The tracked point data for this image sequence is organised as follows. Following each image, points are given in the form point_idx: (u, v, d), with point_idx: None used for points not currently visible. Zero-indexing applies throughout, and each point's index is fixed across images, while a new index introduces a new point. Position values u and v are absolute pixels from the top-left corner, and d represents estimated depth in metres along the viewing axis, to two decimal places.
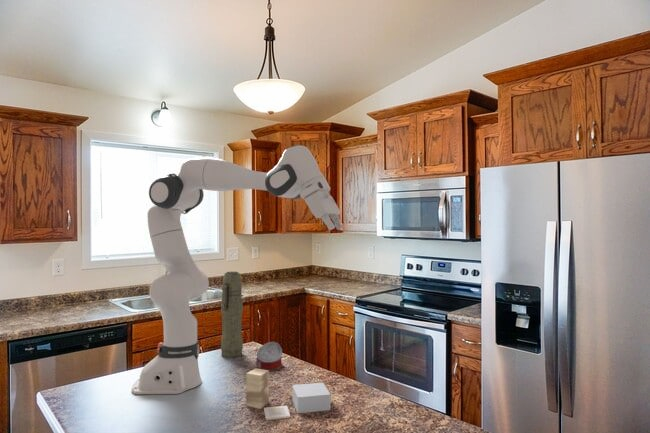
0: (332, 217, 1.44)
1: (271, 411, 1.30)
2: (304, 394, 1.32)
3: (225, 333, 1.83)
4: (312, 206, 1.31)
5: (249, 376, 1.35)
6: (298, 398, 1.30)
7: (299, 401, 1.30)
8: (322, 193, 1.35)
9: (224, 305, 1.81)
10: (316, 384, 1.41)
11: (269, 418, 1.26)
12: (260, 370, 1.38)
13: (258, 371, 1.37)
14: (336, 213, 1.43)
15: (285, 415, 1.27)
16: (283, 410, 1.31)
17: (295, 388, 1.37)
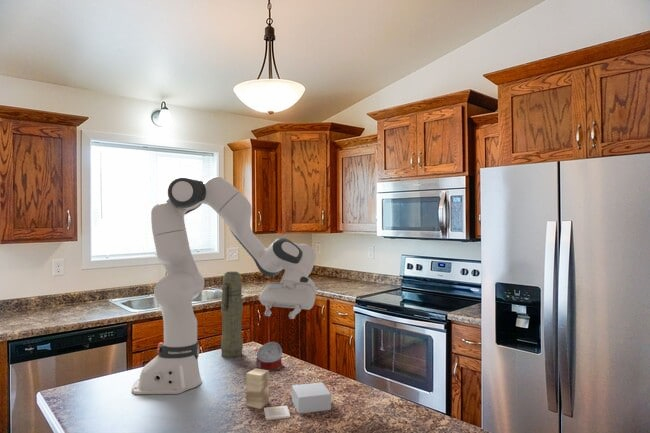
0: (270, 303, 1.53)
1: (271, 411, 1.30)
2: (305, 395, 1.32)
3: (225, 333, 1.83)
4: (311, 296, 1.48)
5: (249, 376, 1.35)
6: (299, 398, 1.30)
7: (300, 401, 1.30)
8: None
9: (224, 305, 1.81)
10: (315, 384, 1.41)
11: (269, 418, 1.26)
12: (260, 370, 1.38)
13: (258, 371, 1.37)
14: (276, 306, 1.54)
15: (285, 415, 1.27)
16: (283, 410, 1.31)
17: (295, 388, 1.37)
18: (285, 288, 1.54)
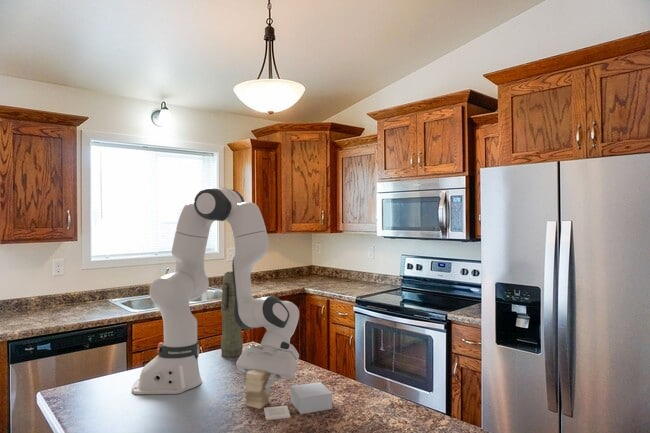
0: None
1: (271, 411, 1.30)
2: (306, 395, 1.32)
3: (225, 333, 1.83)
4: (292, 365, 1.36)
5: (249, 376, 1.35)
6: (301, 399, 1.30)
7: (302, 402, 1.30)
8: None
9: (224, 305, 1.81)
10: (314, 384, 1.41)
11: (269, 418, 1.26)
12: (260, 370, 1.38)
13: (258, 371, 1.37)
14: None
15: (285, 415, 1.27)
16: (283, 410, 1.31)
17: (295, 389, 1.36)
18: (264, 354, 1.42)
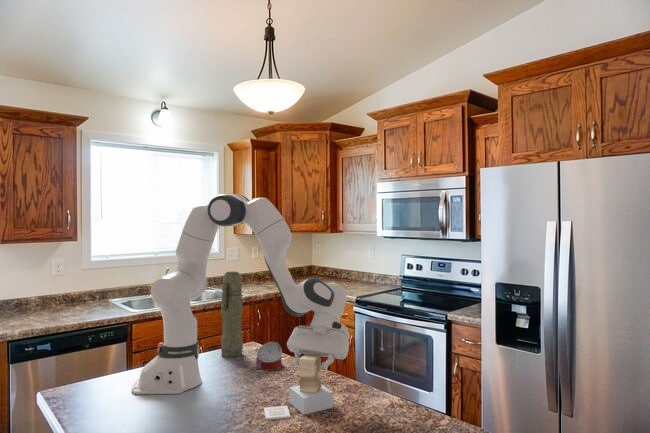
0: (299, 350, 1.40)
1: (271, 411, 1.30)
2: (309, 395, 1.32)
3: (225, 333, 1.83)
4: (345, 345, 1.36)
5: (302, 361, 1.35)
6: (304, 399, 1.30)
7: (305, 402, 1.30)
8: None
9: (224, 305, 1.81)
10: None
11: (269, 418, 1.26)
12: (311, 355, 1.38)
13: (310, 356, 1.37)
14: (305, 353, 1.41)
15: (285, 415, 1.27)
16: (283, 410, 1.31)
17: (295, 390, 1.36)
18: (316, 334, 1.42)
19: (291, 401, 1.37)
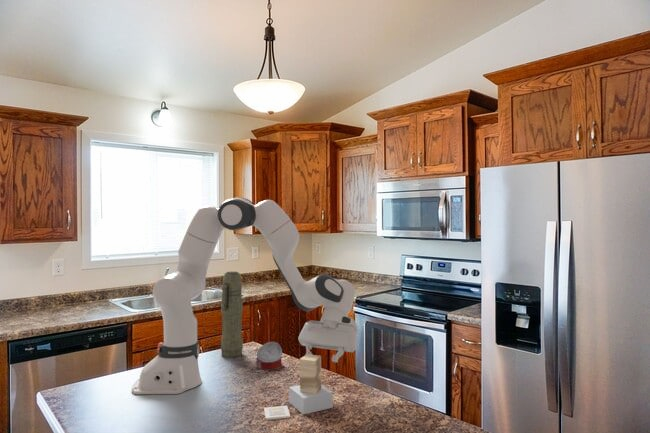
0: (310, 344, 1.47)
1: (271, 411, 1.30)
2: (308, 395, 1.32)
3: (225, 333, 1.83)
4: (355, 338, 1.43)
5: (303, 362, 1.34)
6: (304, 399, 1.30)
7: (305, 402, 1.30)
8: None
9: (224, 305, 1.81)
10: None
11: (269, 418, 1.26)
12: (311, 355, 1.38)
13: (310, 357, 1.36)
14: (316, 347, 1.48)
15: (285, 415, 1.27)
16: (283, 410, 1.31)
17: (294, 390, 1.36)
18: (326, 328, 1.48)
19: (291, 401, 1.37)
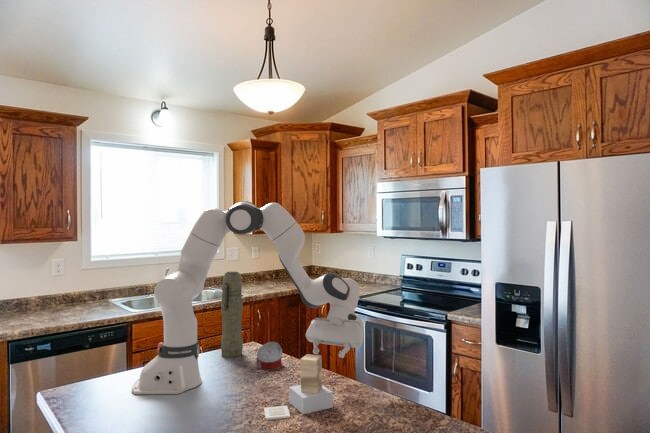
0: (317, 340, 1.52)
1: (271, 411, 1.30)
2: (308, 395, 1.32)
3: (225, 333, 1.83)
4: (360, 335, 1.48)
5: (303, 362, 1.34)
6: (303, 399, 1.30)
7: (304, 402, 1.30)
8: None
9: (224, 305, 1.81)
10: None
11: (269, 418, 1.26)
12: (312, 355, 1.38)
13: (311, 356, 1.36)
14: (323, 343, 1.53)
15: (285, 415, 1.27)
16: (283, 410, 1.31)
17: (294, 390, 1.36)
18: (332, 325, 1.53)
19: (291, 401, 1.37)
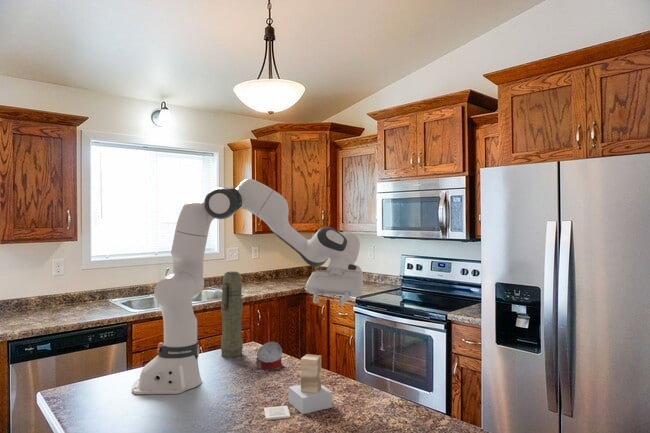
0: (317, 290, 1.52)
1: (271, 411, 1.30)
2: (307, 395, 1.32)
3: (225, 333, 1.83)
4: (360, 284, 1.48)
5: (304, 361, 1.34)
6: (303, 399, 1.30)
7: (304, 402, 1.30)
8: None
9: (224, 305, 1.81)
10: None
11: (269, 418, 1.26)
12: (312, 355, 1.38)
13: (311, 356, 1.37)
14: None
15: (285, 415, 1.27)
16: (283, 410, 1.31)
17: (294, 389, 1.36)
18: (332, 276, 1.54)
19: (290, 401, 1.37)
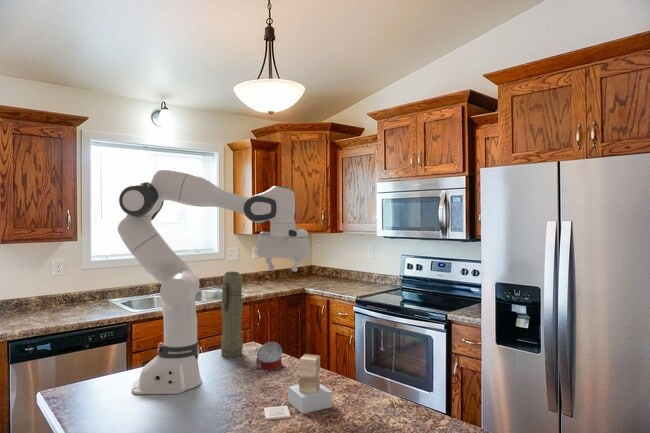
0: (269, 257, 1.58)
1: (271, 411, 1.30)
2: (307, 394, 1.32)
3: (225, 333, 1.83)
4: (305, 248, 1.52)
5: (303, 361, 1.34)
6: (303, 398, 1.30)
7: (304, 401, 1.30)
8: None
9: (224, 305, 1.81)
10: None
11: (269, 418, 1.26)
12: (310, 355, 1.38)
13: (310, 356, 1.37)
14: None
15: (285, 415, 1.27)
16: (283, 410, 1.31)
17: (293, 389, 1.36)
18: (277, 241, 1.56)
19: (290, 400, 1.37)
